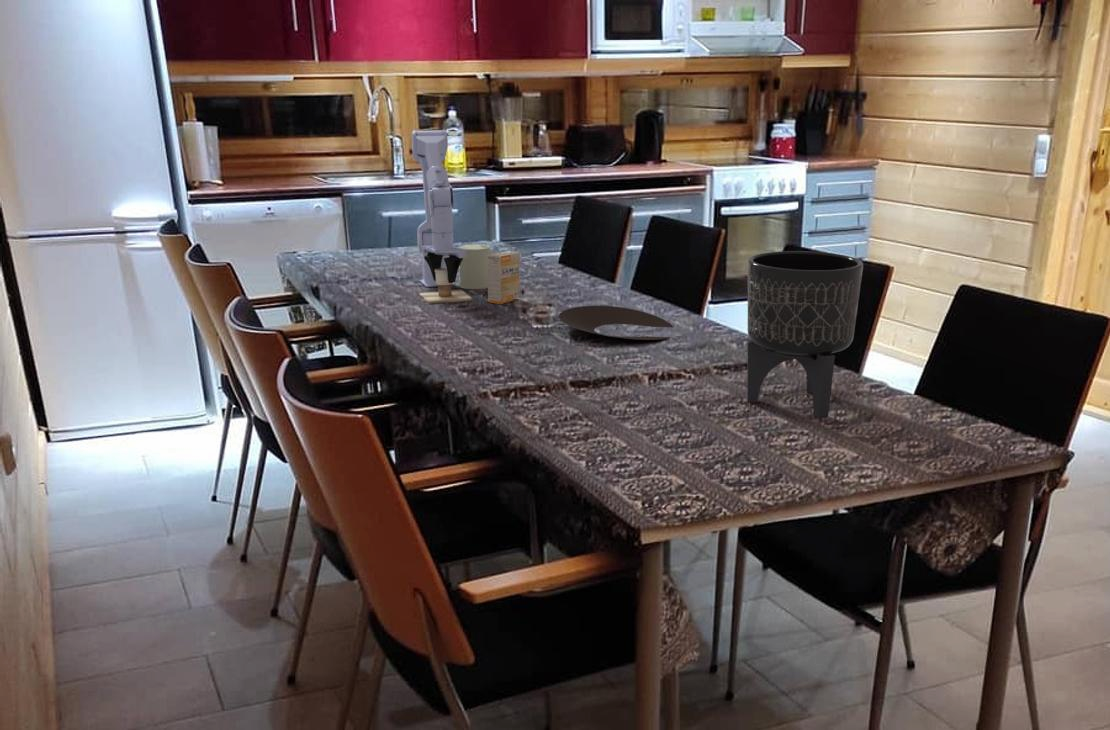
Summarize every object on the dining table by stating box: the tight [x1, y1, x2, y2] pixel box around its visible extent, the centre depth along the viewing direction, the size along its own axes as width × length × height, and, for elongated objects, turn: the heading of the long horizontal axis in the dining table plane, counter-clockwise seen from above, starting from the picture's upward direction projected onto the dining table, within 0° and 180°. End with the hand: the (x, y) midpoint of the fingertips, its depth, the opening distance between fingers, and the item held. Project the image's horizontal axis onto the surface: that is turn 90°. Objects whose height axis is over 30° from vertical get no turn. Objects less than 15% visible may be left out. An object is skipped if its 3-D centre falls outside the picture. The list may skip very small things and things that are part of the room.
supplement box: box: [487, 250, 521, 305], centre depth 254 cm, size 8×5×13 cm, turn 143°
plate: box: [558, 305, 675, 341], centre depth 224 cm, size 28×28×4 cm
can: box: [458, 243, 491, 290], centre depth 273 cm, size 9×9×12 cm
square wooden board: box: [418, 284, 473, 305], centre depth 260 cm, size 12×12×4 cm
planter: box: [746, 250, 864, 419], centre depth 169 cm, size 20×20×26 cm
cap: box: [435, 267, 454, 285], centre depth 258 cm, size 5×5×4 cm
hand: (444, 281), depth 259 cm, fingers closed on cap, 5 cm apart
